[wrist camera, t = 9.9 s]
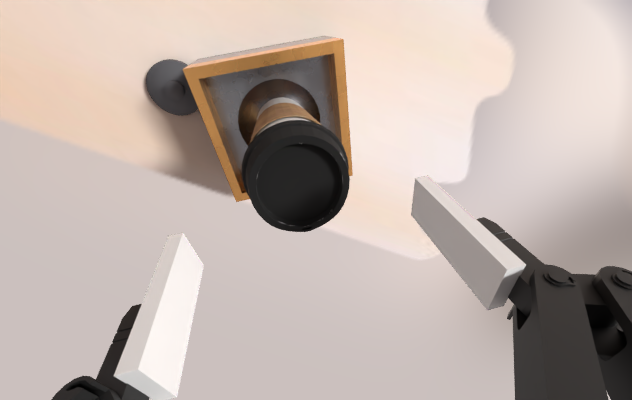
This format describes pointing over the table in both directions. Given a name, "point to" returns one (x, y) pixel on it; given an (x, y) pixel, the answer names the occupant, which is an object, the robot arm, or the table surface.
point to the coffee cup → (294, 168)
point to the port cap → (171, 87)
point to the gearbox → (268, 94)
